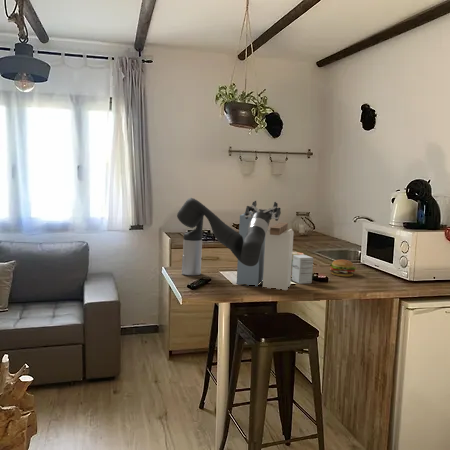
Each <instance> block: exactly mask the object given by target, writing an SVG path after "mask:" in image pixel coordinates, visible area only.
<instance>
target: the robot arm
mask: <svg viewBox="0 0 450 450" xmlns="http://www.w3.org/2000/svg"><path fill="white" fill-rule="evenodd" d="M278 205H279V204H278V203H277V201H274V202H273V206H272V207H269V208H267V209H262V208H259V209H258V207H257V200H254V201H252V204H251V206H250V205H247V206H246V208H245V211H244V213H245V218H246V219H248V217H252V218H251V221H250V223H249V227H248V232H247V235H246V238H245V239H244V242H243V237H242V236H241V235H240V234H239V231H236V230H234V229H233V228H232V227H230V226H229V225H228V224H227V223H225V222H224V221H223V220H222V219H221V218H219V217H218V216H217V215H216V214H215V212H213V211H212V210H210V209H209V208H208V207H207V206H206V205H205V204H203V203H202V202H201V201H198V200H197V199H195V198H193V197H189V198H187V199H186V200H185V202H184V204H183V205H182V206H181V207H180V208H179V210H178V212H177V214H176V217H177V219H178V221H179V222H180V223H181V224H182V225H183V226H185V227H187V228H189V229H191V228H192V229H193V230H191V231H188V232H185V233H183V244H182V256H181V257H182V258H181V275H185V276H199V275H201V274H202V272H201V271H202V252H203V251H202V250H203V228H204V217H205V218H206V219H207V221H208V222H209V225H210V227H211V230H212V232H213V233H212V234H213V235H214V237H215V239H216V240H217V242H219V243H220V244H222V245H223V246H224V247H226V248H228V249H229V250H230V251H231V253H232V255H234V257H236V259H237V261H238V260H239V261H240V262H241V263H242V264H244V265H246V266H255V265H256V264H257V263H258V261H259V256H260V251H261V246H262V243H263V241H264V238H265V235H266V233H267V230H268V229H269V225H270V221H271V220H275V221H276V222H278V221H279V219H280V216H281V214H282V213H281V207H278ZM250 211H252V214H250Z"/></svg>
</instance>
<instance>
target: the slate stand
mask: <svg viewBox="0 0 450 450" xmlns="http://www.w3.org/2000/svg"><path fill="white" fill-rule="evenodd" d="M252 213H253V212H252V211H250V214H252ZM251 218H252V217H248V219H246V218H245V212H244V213H242V214H240V215H239V223H238V224H239V225H238V226H239V227H238V228H239V229H238V233H239V234H240V235H241V236H242V237H243V242H244V239H245V238H246V235H247V232H248V227H249V223H250V221H251ZM265 236H266V235H265ZM264 254H265V238H264V241H263V243H262V246H261V251H260V256H259V261H258V263H257V264H256V265H255V266H246V265H244V264H242V263H241V262H240V261H239V260H238V259H237V266H236V267H237V268H236V285H240V284H247V285H246V286H249V285H255V286H254V287H259V286H258V284H259V283H260V282H261V281H262V280H263V272H264ZM262 282H263V281H262ZM262 282H261V283H262ZM261 283H260V284H261Z"/></svg>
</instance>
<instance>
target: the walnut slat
mask: <svg viewBox="0 0 450 450" xmlns="http://www.w3.org/2000/svg"><path fill="white" fill-rule="evenodd" d="M288 226H289V223H288V222H278V223H276V224H274V225H272V226H271V227H269V228H270V235H280V234H282V233H283V232H285V231H286V230H287V231H288V230H289V227H288Z"/></svg>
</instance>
